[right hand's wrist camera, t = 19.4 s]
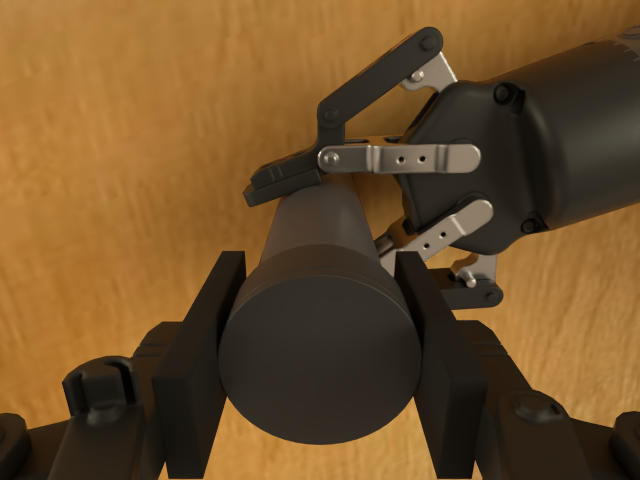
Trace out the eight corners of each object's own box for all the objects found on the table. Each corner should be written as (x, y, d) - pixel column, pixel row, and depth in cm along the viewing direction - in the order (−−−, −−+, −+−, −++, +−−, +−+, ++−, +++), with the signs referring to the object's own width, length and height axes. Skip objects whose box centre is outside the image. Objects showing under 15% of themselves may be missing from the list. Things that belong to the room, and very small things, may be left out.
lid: (412, 385, 13) (427, 435, 11) (250, 402, 13) (239, 454, 12) (402, 232, 11) (418, 262, 10) (214, 255, 12) (195, 288, 10)
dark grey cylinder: (275, 167, 27) (212, 294, 11) (344, 147, 26) (381, 249, 10) (296, 232, 28) (268, 424, 13) (362, 214, 28) (417, 390, 12)
